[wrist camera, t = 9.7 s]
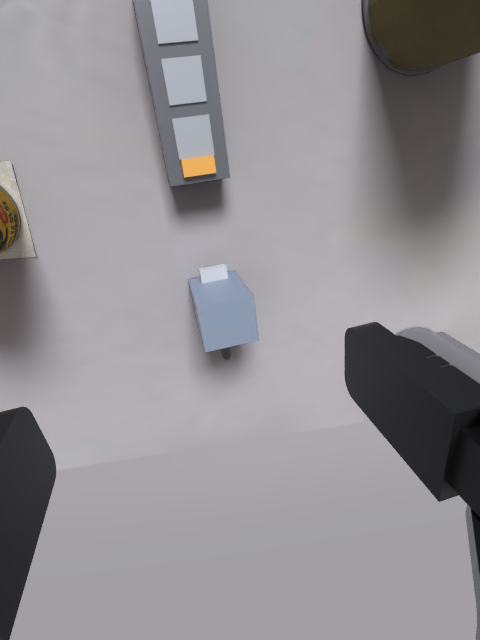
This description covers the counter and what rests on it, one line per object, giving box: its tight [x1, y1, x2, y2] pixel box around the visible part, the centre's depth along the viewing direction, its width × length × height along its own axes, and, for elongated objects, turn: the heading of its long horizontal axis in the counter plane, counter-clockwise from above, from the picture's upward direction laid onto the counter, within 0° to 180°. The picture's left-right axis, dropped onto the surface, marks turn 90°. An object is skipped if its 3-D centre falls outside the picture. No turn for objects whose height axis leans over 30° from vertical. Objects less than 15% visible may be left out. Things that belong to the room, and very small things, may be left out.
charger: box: [188, 264, 259, 360], centre depth 32 cm, size 4×10×7 cm, turn 7°
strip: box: [133, 0, 230, 186], centre depth 25 cm, size 4×12×4 cm, turn 7°
